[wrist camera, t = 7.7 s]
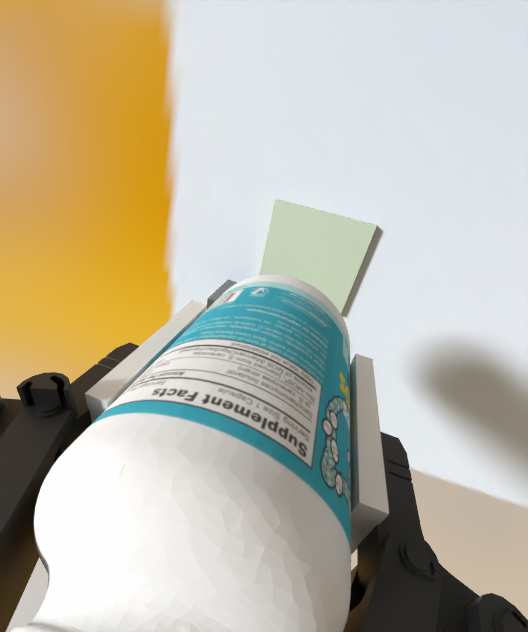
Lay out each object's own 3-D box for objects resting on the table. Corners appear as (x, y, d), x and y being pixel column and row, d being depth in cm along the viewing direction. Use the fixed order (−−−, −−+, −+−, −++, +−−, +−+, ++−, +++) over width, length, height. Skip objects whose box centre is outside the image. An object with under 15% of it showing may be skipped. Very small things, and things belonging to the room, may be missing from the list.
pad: (276, 199, 25) (275, 199, 24) (376, 225, 24) (376, 226, 23) (258, 287, 30) (256, 289, 29) (340, 312, 28) (340, 315, 28)
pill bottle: (315, 405, 17) (237, 920, 5) (205, 355, 17) (-79, 726, 6) (379, 305, 13) (620, 1481, 1) (234, 244, 13) (-467, 724, 2)
